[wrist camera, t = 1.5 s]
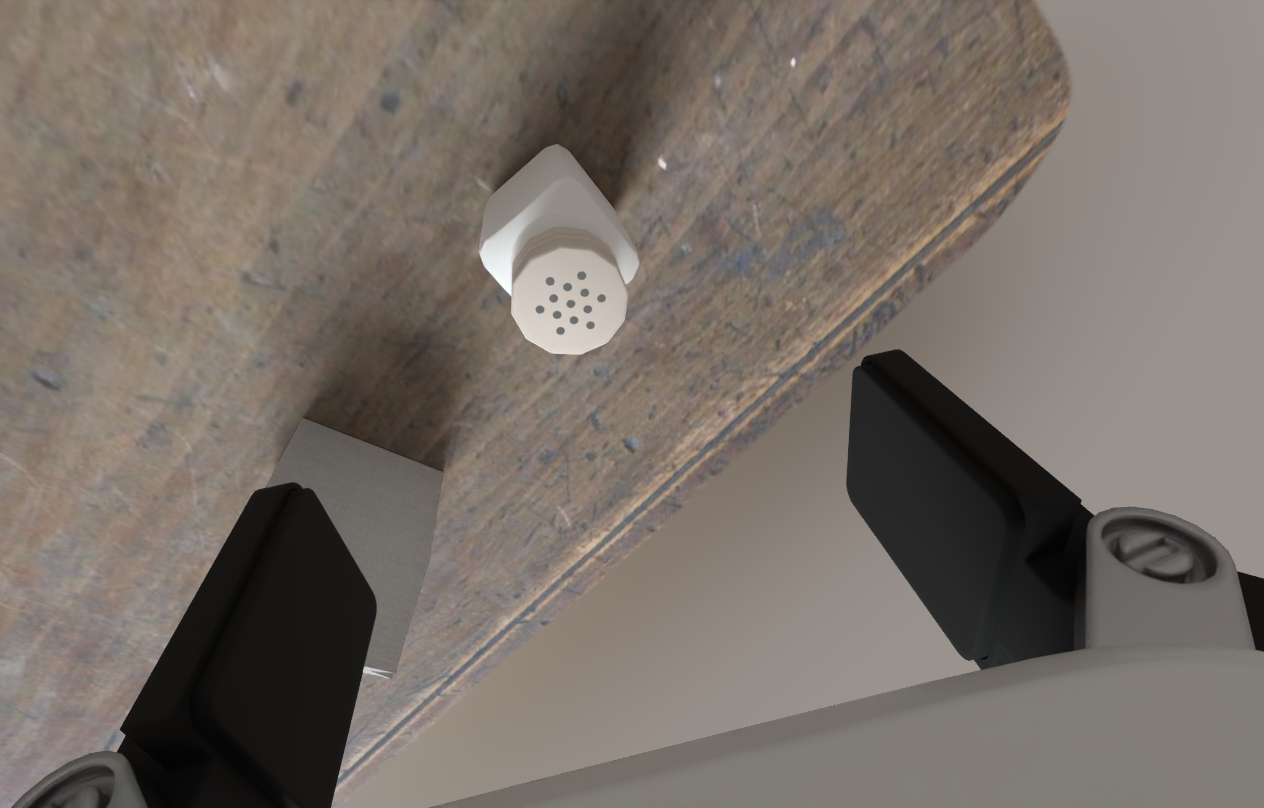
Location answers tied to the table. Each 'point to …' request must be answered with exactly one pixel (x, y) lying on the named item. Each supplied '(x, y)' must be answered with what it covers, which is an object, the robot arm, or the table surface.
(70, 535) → the table surface
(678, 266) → the table surface
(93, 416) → the table surface
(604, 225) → the pepper shaker
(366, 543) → the grey upright carton
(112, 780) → the robot arm
